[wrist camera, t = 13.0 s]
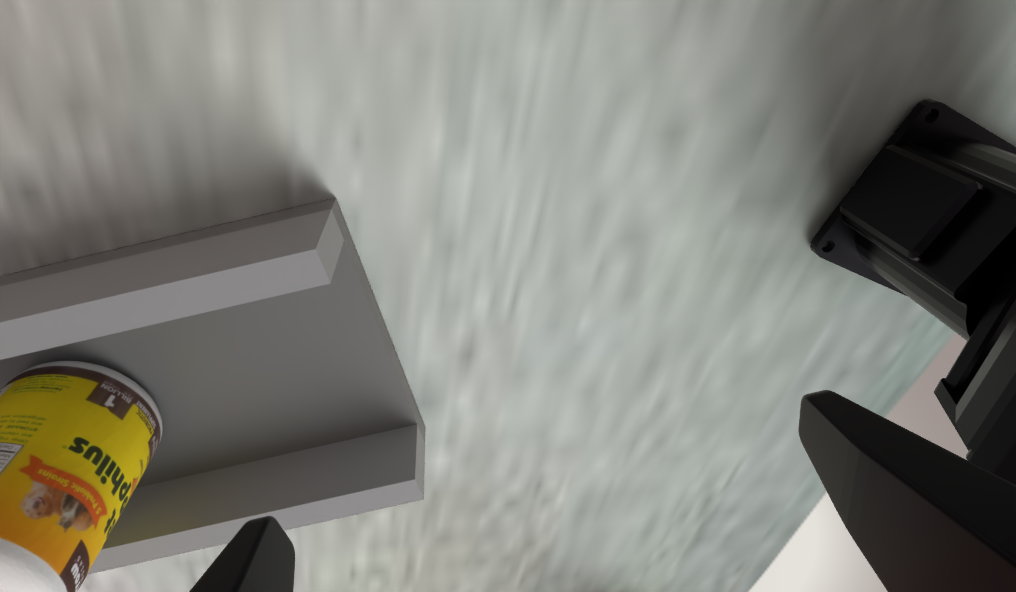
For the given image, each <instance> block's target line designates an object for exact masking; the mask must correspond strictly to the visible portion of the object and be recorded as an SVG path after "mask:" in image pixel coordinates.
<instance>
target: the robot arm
mask: <svg viewBox="0 0 1016 592" xmlns="http://www.w3.org/2000/svg"><path fill="white" fill-rule="evenodd" d="M930 110H931V113H930V114H929V116H928V117H927V118H926V119H924V117H925V115H926V113H927V112H928V111H930ZM828 241H829V242H828ZM826 242H828V244H827V245H826V246H825V247H823V244H825V243H826ZM810 247H811V250H812V251H813V252H814V253H816V254H817V255H818V256H819V257H821V258H823V259H825V260H828V261H830V262H832V263H834V264H837V265H839V266H841V267H843V268H846V269H848V270H850V271H852V272H855V273H857V274H859V275H861V276H863V277H866V278H868V279H870V280H872V281H875V282H877V283H879V284H881V285H884V286H886V287H888V288H890V289H893V290H895V291H897V292H899V293H902V294H904V295H906V296H908V297H910V298H911V299H912V300H914V301H915V302H916V303H918V304H919V305H920V306H922V307H923V308H924V309H926V310H927V311H928V312H930V313H931V314H932V315H934V316H935V317H936V318H938V319H939V320H940V321H942V322H943V323H944V324H946V325H947V326H948V327H950V328H951V329H952V330H954V331H955V332H956V333H958V334H959V335H961V337H963V338H964V339H965V340H967V343H966V345H965V346H964V348H963V350H962V352H961V353H960V355H959V356H958V358H957V360H956V361H955V363H954V365H953V367H952V368H951V370H950V372H949V373H948V375H947V377H946V378H943V379H941V380H940V382H939V384H938V386H937V387H936V389H935V391H934V393H935V395H936V397H937V398H938V400H939V402H940V404H941V405H942V407H943V408H944V410H945V412H946V414H947V415H948V417H949V419H950V420H951V422H952V424H953V425H954V427H955V429H956V430H957V432H958V434H959V435H960V437H961V439H962V440H963V442H964V444H965V446H966V447H967V449H968V450H969V452H968V453H967V455H966V458H967V460H968V461H967V460H965V459H963V458H961V457H959V456H958V455H956V454H954V453H952V452H950V451H948V450H946V449H944V448H942V447H940V446H938V445H936V444H934V443H932V442H930V441H928V440H926V439H924V438H922V437H920V436H919V435H917V434H915V433H913V432H911V431H909V430H907V429H905V428H903V427H901V426H899V425H897V424H895V423H893V422H891V421H889V420H887V419H885V418H883V417H881V416H880V415H878V414H876V413H874V412H872V411H870V410H868V409H866V408H864V407H862V406H860V405H858V404H856V403H854V402H852V401H850V400H848V399H846V398H844V397H842V396H841V395H839V394H837V393H835V392H832V391H829V390H823V391H819V392H814V393H810V394H806V395H804V396H803V398H802V400H801V408H800V419H799V436H800V439H801V442H802V444H803V446H804V448H805V450H806V452H807V454H808V456H809V458H810V460H811V462H812V464H813V466H814V468H815V469H816V471H817V473H818V475H819V477H820V479H821V481H822V483H823V485H824V487H825V489H826V491H827V493H828V494H829V496H830V498H831V500H832V502H833V504H834V506H835V508H836V510H837V512H838V514H839V515H840V517H841V519H842V521H843V523H844V524H845V527H846V528H847V530H848V531H849V533H850V535H851V536H852V538H853V539H854V541H855V542H856V544H857V546H858V547H859V548H860V550H861V552H862V553H863V555H864V556H865V558H866V559H867V561H868V562H869V564H870V565H871V566H872V568H873V570H874V571H875V573H876V574H877V576H878V577H879V579H880V580H881V582H882V583H883V585H884V586H885V588H886V589H887V591H888V592H1016V147H1014V146H1013V145H1011V144H1009V143H1008V142H1006V141H1005V140H1003V139H1001V138H1000V137H998V136H996V135H995V134H993V133H991V132H990V131H988V130H986V129H985V128H983V127H981V126H980V125H978V124H976V123H975V122H973V121H971V120H970V119H968V118H967V117H965V116H963V115H962V114H960V113H958V112H957V111H955V110H953V109H952V108H950V107H948V106H947V105H945V104H943V103H941V102H938V101H935V100H932V99H926V100H923V101H921V102H919V103H918V104H917V105H916V106H915V107H914V108H913V109H912V111H911V112H910V113H909V115H908V116H907V117H906V118H905V120H904V121H903V122H902V124H901V125H900V126H899V127H898V129H897V130H896V131H895V133H894V134H893V135H892V137H891V138H890V139H889V140H888V142H887V143H886V144H885V146H884V147H883V148H882V150H881V151H880V152H879V153H878V155H877V156H876V157H875V159H874V160H873V161H872V162H871V164H870V165H869V166H868V168H867V169H866V170H865V172H864V173H863V174H862V175H861V177H860V178H859V179H858V181H857V182H856V183H855V185H854V186H853V187H852V188H851V190H850V191H849V192H848V194H847V195H846V196H845V198H844V199H843V200H842V201H841V203H840V204H839V205H838V207H837V208H836V209H835V210H834V212H833V213H832V214H831V216H830V217H829V218H828V220H827V221H826V222H825V223H824V225H823V226H822V227H821V229H820V230H819V231H818V233H817V234H816V235H815V236H814V238H813V239H812V241H811V246H810ZM822 247H823V248H822ZM294 569H295V551H294V547H293V544H292V542H291V541H290V539H289V538H288V536H287V534H286V533H285V531H284V530H283V528H282V527H281V525H280V524H279V522H278V521H277V520H276V518H274V517H272V516H265V517H261V518H256V519H252V520H249V521H247V522H246V523H245V524H244V525H243V526H242V527H241V529H240V530H239V531H238V532H237V534H236V535H235V536H234V537H233V539H232V540H231V541H230V542H229V543H228V545H227V546H226V547H225V548H224V550H223V551H222V552H221V553H220V555H219V556H218V557H217V558H216V560H215V561H214V562H213V563H212V564H211V566H210V567H209V568H208V569H207V571H206V572H205V573H204V574H203V576H202V577H201V578H200V579H199V580H198V582H197V583H196V584H195V585H194V587H193V588H192V589H191V590H190V592H293V586H294Z"/></svg>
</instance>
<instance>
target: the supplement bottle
mask: <svg viewBox="0 0 1016 592" xmlns="http://www.w3.org/2000/svg"><path fill="white" fill-rule="evenodd" d="M161 437H162V419H161V415H160V412H159V410H158V407H157V406H156V404H155V402H154V401H153V399H152V398H151V397H150V396H149V394H148V393H147V392H146V391H145V390H144V389H143V388H142V387H140V386H139V385H138V384H137V383H136V382H134V381H133V380H131V379H129V378H128V377H126V376H124V375H123V374H121V373H119V372H117V371H115V370H112V369H109V368H107V367H104V366H100V365H97V364H93V363H87V362H81V361H55V362H48V363H43V364H40V365H36V366H34V367H31V368H29V369H27V370H25V371H23V372H21V373H19V374H18V375H16V376H15V377H14V378H12V379H11V380H10V381H9V382H8V383H7V384H6V385H5V386H4V387H3V388H2V389H1V390H0V592H77V591H78V589H79V588H80V586H81V584H82V583H83V581H84V579H85V578H86V576H87V574H88V572H89V570H90V568H91V566H92V565H93V563H94V561H95V559H96V557H97V556H98V554H99V552H100V550H101V549H102V547H103V545H104V543H105V541H106V539H107V538H108V536H109V534H110V532H111V530H112V529H113V527H114V525H115V524H116V522H117V520H118V519H119V517H120V515H121V513H122V511H123V509H124V508H125V506H126V504H127V502H128V500H129V499H130V497H131V495H132V493H133V491H134V490H135V488H136V486H137V484H138V482H139V481H140V479H141V477H142V475H143V473H144V472H145V470H146V468H147V466H148V465H149V463H150V461H151V459H152V457H153V455H154V453H155V452H156V450H157V448H158V445H159V443H160V440H161Z"/></svg>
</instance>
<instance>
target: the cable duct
mask: <svg viewBox="0 0 1016 592" xmlns="http://www.w3.org/2000/svg"><path fill="white" fill-rule="evenodd" d="M55 361H81V362H87V363H93V364H97V365H100V366H104V367H107V368H109V369H112V370H115V371H117V372H119V373H121V374H123V375H124V376H126V377H128V378H129V379H131V380H133V381H134V382H136V383H137V384H138V385H139V386H140V387H142V388H143V389H144V390H145V391H146V392H147V393H148V394H149V396H150V397H151V398H152V399H153V401H154V402H155V404H156V406H157V407H158V410H159V412H160V415H161V419H162V437H161V440H160V443H159V445H158V448H157V450H156V452H155V453H154V455H153V457H152V459H151V461H150V463H149V465H148V466H147V468H146V470H145V472H144V473H143V475H142V477H141V479H140V481H139V482H138V484H137V486H136V488H135V490H134V491H133V493H132V495H131V497H130V499H129V500H128V502H127V504H126V506H125V508H124V509H123V511H122V513H121V515H120V517H119V519H118V520H117V522H116V524H115V525H114V527H113V529H112V530H111V532H110V534H109V536H108V538H107V539H106V541H105V543H104V545H103V547H102V549H101V550H100V552H99V554H98V556H97V557H96V559H95V561H94V563H93V565H92V566H91V568H90V570H89V572H88V574H92V573H96V572H101V571H105V570H110V569H114V568H119V567H123V566H128V565H132V564H137V563H141V562H146V561H150V560H155V559H159V558H164V557H168V556H172V555H177V554H181V553H186V552H190V551H195V550H199V549H204V548H208V547H213V546H217V545H222V544H226V543H229V542H230V541H231V540H232V539H233V537H234V536H235V535H236V534H237V532H238V531H239V530H240V529H241V527H242V526H243V525H244V524H245V523H246V522H247V521H249V520H252V519H256V518H261V517H265V516H272V517H274V518H276V520H277V521H278V522H279V524H280V525H281V527H282V528H283V530H289V529H293V528H298V527H302V526H307V525H311V524H316V523H320V522H324V521H329V520H333V519H338V518H342V517H347V516H351V515H356V514H360V513H365V512H369V511H374V510H378V509H383V508H387V507H392V506H396V505H400V504H405V503H409V502H414V501H418V500H423V499H424V466H425V425H424V422H423V420H422V417H421V415H420V412H419V410H418V407H417V404H416V402H415V399H414V397H413V394H412V392H411V389H410V386H409V384H408V381H407V379H406V376H405V374H404V371H403V368H402V366H401V363H400V361H399V358H398V356H397V353H396V350H395V348H394V345H393V343H392V340H391V338H390V335H389V332H388V330H387V327H386V325H385V322H384V320H383V317H382V315H381V312H380V309H379V307H378V304H377V302H376V299H375V297H374V294H373V291H372V289H371V286H370V284H369V281H368V279H367V276H366V273H365V271H364V268H363V266H362V263H361V261H360V258H359V255H358V253H357V250H356V248H355V245H354V243H353V240H352V237H351V235H350V232H349V230H348V227H347V225H346V222H345V219H344V217H343V214H342V212H341V209H340V207H339V204H338V201H337V199H336V198H333V199H329V200H324V201H320V202H316V203H312V204H307V205H303V206H299V207H295V208H290V209H286V210H282V211H277V212H273V213H269V214H265V215H260V216H256V217H252V218H248V219H243V220H239V221H235V222H230V223H226V224H222V225H218V226H213V227H209V228H205V229H201V230H196V231H192V232H188V233H184V234H179V235H175V236H171V237H166V238H162V239H158V240H154V241H149V242H145V243H141V244H137V245H132V246H128V247H124V248H120V249H115V250H111V251H107V252H102V253H98V254H94V255H90V256H85V257H81V258H77V259H73V260H68V261H64V262H60V263H56V264H51V265H47V266H43V267H38V268H34V269H30V270H26V271H21V272H17V273H13V274H9V275H4V276H0V390H1V389H2V388H3V387H4V386H5V385H6V384H7V383H8V382H9V381H10V380H11V379H12V378H14V377H15V376H16V375H18V374H19V373H21V372H23V371H25V370H27V369H29V368H31V367H34V366H36V365H40V364H43V363H48V362H55Z"/></svg>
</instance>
